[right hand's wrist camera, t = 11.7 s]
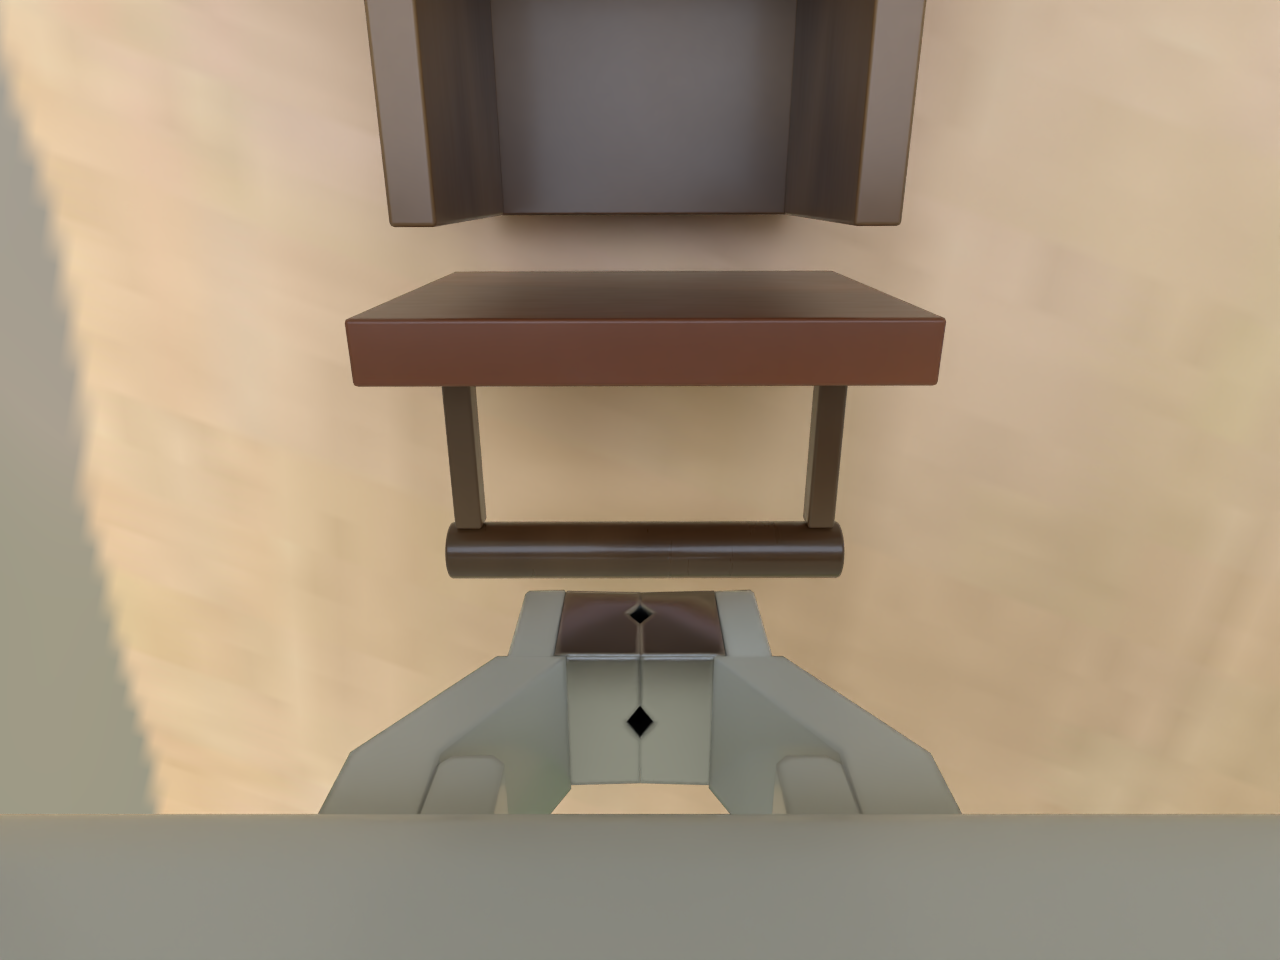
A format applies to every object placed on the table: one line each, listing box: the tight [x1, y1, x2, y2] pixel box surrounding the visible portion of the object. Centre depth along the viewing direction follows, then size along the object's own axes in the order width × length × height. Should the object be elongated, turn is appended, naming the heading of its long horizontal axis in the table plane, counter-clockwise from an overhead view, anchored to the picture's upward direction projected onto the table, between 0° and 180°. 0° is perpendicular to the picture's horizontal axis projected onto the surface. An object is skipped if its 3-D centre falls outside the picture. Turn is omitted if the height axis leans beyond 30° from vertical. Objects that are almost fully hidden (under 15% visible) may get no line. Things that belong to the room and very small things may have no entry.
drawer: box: [345, 0, 946, 578], centre depth 15 cm, size 24×10×8 cm, turn 0°
